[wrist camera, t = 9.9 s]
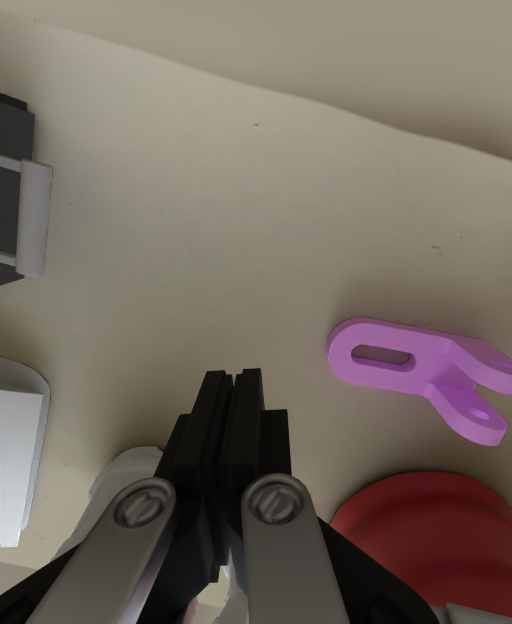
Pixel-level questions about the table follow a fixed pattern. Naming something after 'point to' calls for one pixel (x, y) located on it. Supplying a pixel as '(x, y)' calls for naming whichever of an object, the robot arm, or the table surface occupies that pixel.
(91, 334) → the table surface
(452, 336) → the bracket
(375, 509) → the table lamp
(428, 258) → the table surface
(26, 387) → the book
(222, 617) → the mug
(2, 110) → the dark grey drawer
